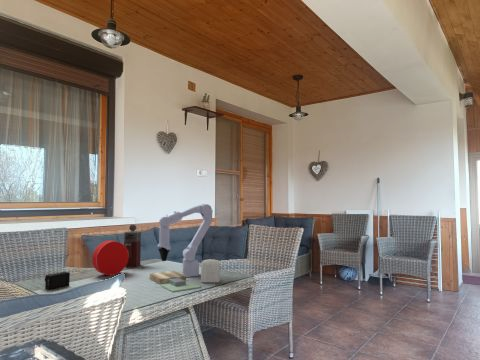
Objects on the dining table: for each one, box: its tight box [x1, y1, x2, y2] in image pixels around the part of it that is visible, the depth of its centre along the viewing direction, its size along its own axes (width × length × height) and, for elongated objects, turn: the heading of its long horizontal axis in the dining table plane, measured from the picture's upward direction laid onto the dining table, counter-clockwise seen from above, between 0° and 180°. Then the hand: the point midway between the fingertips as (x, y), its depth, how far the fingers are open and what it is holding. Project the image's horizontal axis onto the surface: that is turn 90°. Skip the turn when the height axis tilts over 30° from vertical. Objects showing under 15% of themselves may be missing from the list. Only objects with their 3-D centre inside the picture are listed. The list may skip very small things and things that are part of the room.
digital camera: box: [44, 271, 71, 291], centre depth 177 cm, size 10×5×7 cm, turn 149°
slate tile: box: [168, 278, 187, 286], centre depth 182 cm, size 6×9×2 cm, turn 35°
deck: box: [148, 270, 187, 286], centre depth 193 cm, size 15×16×3 cm
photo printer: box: [200, 258, 221, 283], centre depth 189 cm, size 10×4×12 cm, turn 94°
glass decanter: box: [123, 223, 142, 268], centre depth 233 cm, size 9×11×28 cm
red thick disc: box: [91, 240, 129, 276], centre depth 207 cm, size 20×6×20 cm, turn 136°
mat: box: [159, 279, 202, 293], centre depth 179 cm, size 16×16×1 cm
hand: (163, 260), depth 201 cm, fingers closed
